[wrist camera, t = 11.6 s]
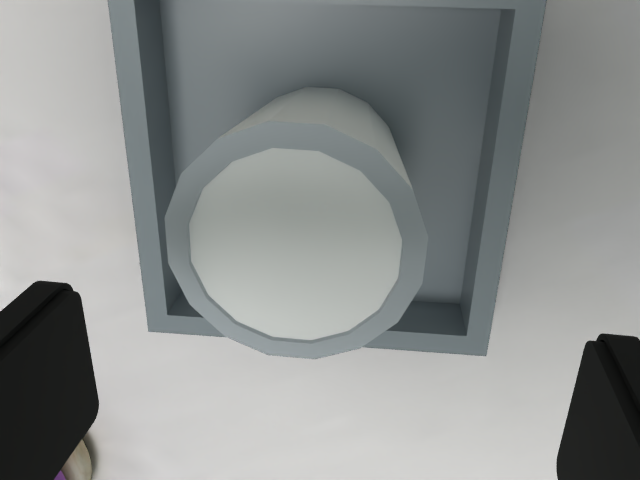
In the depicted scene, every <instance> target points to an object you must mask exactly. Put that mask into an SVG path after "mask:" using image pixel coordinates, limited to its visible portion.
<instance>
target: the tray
mask: <svg viewBox="0 0 640 480" xmlns="http://www.w3.org/2000/svg"><path fill="white" fill-rule="evenodd" d="M546 1H547V0H108V7H109V15H110V23H111V31H112V39H113V47H114V55H115V64H116V72H117V80H118V88H119V96H120V104H121V112H122V120H123V128H124V137H125V145H126V153H127V161H128V169H129V177H130V185H131V193H132V202H133V210H134V218H135V226H136V234H137V242H138V250H139V258H140V267H141V275H142V283H143V291H144V299H145V307H146V315H147V323H148V332H161V333H175V334H189V335H203V336H216V337H225V336H224V335H223V334H222V333H220V332H219V331H218V330H217V329H216V328H215V327H214V326H213V325H212V324H211V323H209V322H208V321H207V320H206V319H205V318H204V317H203V316H202V315H201V314H199V313H198V312H197V311H196V310H195V309H194V308H193V307H192V306H191V305H190V304H189V302H188V301H187V299H186V297H185V295H184V293H183V291H182V289H181V287H180V285H179V283H178V281H177V279H176V277H175V276H174V274H173V272H172V270H171V268H170V266H169V264H168V254H167V242H166V230H165V215H166V212H167V210H168V207H169V204H170V202H171V199H172V196H173V194H174V191H175V188H176V186H177V183H178V180H179V178H180V175H181V173H182V172H183V171H184V170H185V169H186V168H187V167H188V166H189V165H190V164H191V163H192V162H194V161H195V160H196V159H197V158H198V157H199V156H200V155H201V154H202V153H203V152H204V151H205V150H206V149H207V148H208V147H209V146H210V145H211V144H212V143H213V142H214V141H215V140H217V139H218V138H219V137H221V136H222V135H223V134H225V133H226V132H228V131H229V130H231V129H232V128H233V127H235V126H236V125H238V124H239V123H241V122H242V121H244V120H245V119H246V118H248V117H249V116H251V115H252V114H254V113H255V112H257V111H258V110H259V109H261V108H262V107H264V106H265V105H267V104H268V103H270V102H271V101H272V100H274V99H275V98H277V97H279V96H282V95H285V94H288V93H291V92H293V91H296V90H299V89H302V88H305V87H319V88H336V89H340V90H342V91H345V92H347V93H349V94H351V95H353V96H355V97H357V98H359V99H361V100H363V101H365V102H367V103H368V104H369V105H370V106H371V107H372V108H373V109H374V111H375V112H376V113H377V114H378V115H379V116H380V117H381V118H382V120H383V121H384V122H385V123H386V124H387V125H388V126H389V129H390V131H391V134H392V137H393V139H394V142H395V144H396V147H397V150H398V152H399V155H400V157H401V160H402V163H403V165H404V168H405V170H406V173H407V176H408V178H409V181H410V183H411V186H412V189H413V191H414V195H415V198H416V201H417V204H418V207H419V210H420V213H421V216H422V219H423V222H424V226H425V229H426V232H427V235H428V244H427V252H426V260H425V267H424V275H423V283H422V285H421V287H420V288H419V290H418V292H417V293H416V295H415V296H414V298H413V300H412V301H411V303H410V304H409V306H408V307H407V309H406V311H405V312H404V314H403V315H402V317H401V318H400V320H399V322H398V323H396V324H395V325H393V326H392V327H391V328H389V329H388V330H386V331H385V332H383V333H382V334H380V335H379V336H377V337H376V338H375V339H373V340H372V341H370V342H369V343H367V344H366V345H364V346H363V347H367V348H381V349H395V350H408V351H422V352H436V353H450V354H463V355H477V356H486V355H487V349H488V343H489V337H490V331H491V325H492V319H493V313H494V308H495V302H496V296H497V290H498V284H499V278H500V272H501V266H502V260H503V254H504V249H505V243H506V237H507V231H508V225H509V219H510V213H511V207H512V201H513V195H514V189H515V184H516V178H517V172H518V166H519V160H520V154H521V148H522V142H523V136H524V130H525V125H526V119H527V113H528V107H529V101H530V95H531V89H532V83H533V77H534V71H535V65H536V60H537V54H538V48H539V42H540V36H541V30H542V24H543V18H544V12H545V6H546Z"/></svg>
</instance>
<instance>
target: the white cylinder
mask: <svg viewBox="0 0 640 480" xmlns="http://www.w3.org/2000/svg"><path fill="white" fill-rule="evenodd" d="M165 230H166V242H167V254H168V264H169V266H170V268H171V270H172V272H173V274H174V276H175V277H176V279H177V281H178V283H179V285H180V287H181V289H182V291H183V293H184V295H185V297H186V299H187V301H188V302H189V304H190V305H191V306H192V307H193V308H194V309H195V310H196V311H197V312H198V313H199V314H201V315H202V316H203V317H204V318H205V319H206V320H207V321H208V322H209V323H211V324H212V325H213V326H214V327H215V328H216V329H217V330H218V331H219V332H220V333H222V334H223V335H224V336H225V337H228V338H230V339H232V340H235V341H237V342H239V343H241V344H244V345H246V346H248V347H251V348H253V349H255V350H258V351H260V352H262V353H265V354H267V355H273V356H284V357H296V358H307V359H318V358H322V357H327V356H331V355H335V354H339V353H343V352H347V351H351V350H355V349H359V348H361V347H363V346H364V345H366V344H367V343H369V342H370V341H372V340H373V339H375V338H376V337H377V336H379V335H380V334H382V333H383V332H385V331H386V330H388V329H389V328H391V327H392V326H393V325H395V324H396V323H398V322H399V320H400V318H401V317H402V315H403V314H404V312H405V311H406V309H407V307H408V306H409V304H410V303H411V301H412V300H413V298H414V296H415V295H416V293H417V292H418V290H419V288H420V287H421V285H422V283H423V275H424V267H425V260H426V252H427V244H428V235H427V232H426V229H425V226H424V222H423V219H422V216H421V213H420V210H419V207H418V204H417V201H416V198H415V195H414V191H413V189H412V186H411V183H410V181H409V178H408V176H407V173H406V170H405V168H404V165H403V163H402V160H401V157H400V155H399V152H398V150H397V147H396V144H395V142H394V139H393V137H392V134H391V131H390V129H389V126H388V125H387V124H386V123H385V122H384V121H383V120H382V118H381V117H380V116H379V115H378V114H377V113H376V112H375V111H374V109H373V108H372V107H371V106H370V105H369V104H368V103H367V102H365V101H363V100H361V99H359V98H357V97H355V96H353V95H351V94H349V93H347V92H345V91H342V90H340V89H336V88H319V87H305V88H302V89H299V90H296V91H293V92H291V93H288V94H285V95H282V96H279V97H277V98H275V99H274V100H272V101H271V102H270V103H268V104H267V105H265V106H264V107H262V108H261V109H259V110H258V111H257V112H255V113H254V114H252V115H251V116H249V117H248V118H246V119H245V120H244V121H242V122H241V123H239V124H238V125H236V126H235V127H233V128H232V129H231V130H229V131H228V132H226V133H225V134H223V135H222V136H221V137H219V138H218V139H217V140H215V141H214V142H213V143H212V144H211V145H210V146H209V147H208V148H207V149H206V150H205V151H204V152H203V153H202V154H201V155H200V156H199V157H198V158H197V159H196V160H195V161H194V162H192V163H191V164H190V165H189V166H188V167H187V168H186V169H185V170H184V171H183V172H182V173H181V175H180V178H179V180H178V183H177V186H176V188H175V191H174V194H173V196H172V199H171V202H170V204H169V207H168V210H167V212H166V215H165Z"/></svg>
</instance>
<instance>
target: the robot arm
mask: <svg viewBox="0 0 640 480" xmlns="http://www.w3.org/2000/svg"><path fill="white" fill-rule="evenodd" d="M98 409H99V400H98V394H97V388H96V382H95V377H94V371H93V365H92V359H91V353H90V347H89V342H88V336H87V330H86V324H85V318H84V312H83V307H82V301H81V297H80V295H79V293H78V292H75V291H73V288H72V287H71V285H69V284H67V283H59V282H49V281H37V282H35V283H33V284H32V285H31V286H30V287H29V288H27V289H26V290H25V291H24V292H23V293H21V294H20V295H19V296H18V297H17V298H16V299H14V300H13V301H12V302H11V303H10V304H9V305H7V306H6V307H5V308H4V309H3V310H2V311H0V480H54V479H55V477H56V476H57V475H58V473H59V472H60V470H61V469H62V467H63V466H64V464H65V463H66V461H67V460H68V459H69V457H70V456H71V454H72V453H73V451H74V450H75V448H76V447H77V446H78V444H79V443H80V441H81V440H82V438H83V437H84V435H85V434H86V433H87V431H88V430H89V428H90V427H91V425H92V424H93V422H94V421H95V419H96V416H97V413H98ZM557 477H558V480H640V340H639V339H638V338H637V337H634V336H623V335H613V334H600V335H599V336H598V338H597V340H596V341H588V342H587V343H586V345H585V348H584V351H583V355H582V359H581V363H580V367H579V371H578V375H577V379H576V383H575V387H574V391H573V395H572V399H571V403H570V407H569V411H568V415H567V419H566V424H565V428H564V432H563V436H562V440H561V444H560V448H559V452H558V456H557Z"/></svg>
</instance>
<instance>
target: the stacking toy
mask: <svg viewBox="0 0 640 480" xmlns="http://www.w3.org/2000/svg"><path fill="white" fill-rule="evenodd" d="M91 475H92V467H91V459H90V456H89V452H88V450H87V448H86V446H85V444H84V442H83V440H81V441H80V443H79V444H78V446H77V447H76V448H75V450H74V451H73V453H72V454H71V456H70V457H69V459H68V460H67V461H66V463H65V464H64V466H63V467H62V469H61V470H60V472H59V473H58V475H57V476H56V477H55V479H54V480H91Z"/></svg>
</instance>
